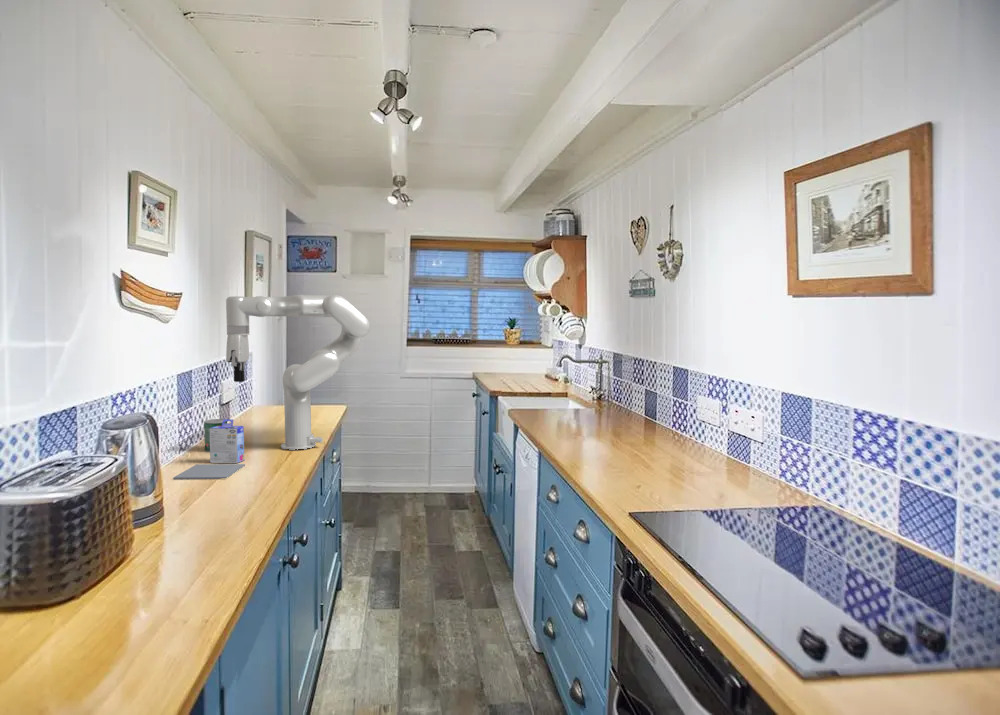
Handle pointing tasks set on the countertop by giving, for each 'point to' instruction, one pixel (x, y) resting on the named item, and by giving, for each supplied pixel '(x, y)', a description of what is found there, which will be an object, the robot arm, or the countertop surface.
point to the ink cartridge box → (226, 443)
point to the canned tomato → (207, 426)
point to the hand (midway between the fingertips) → (239, 381)
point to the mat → (209, 471)
